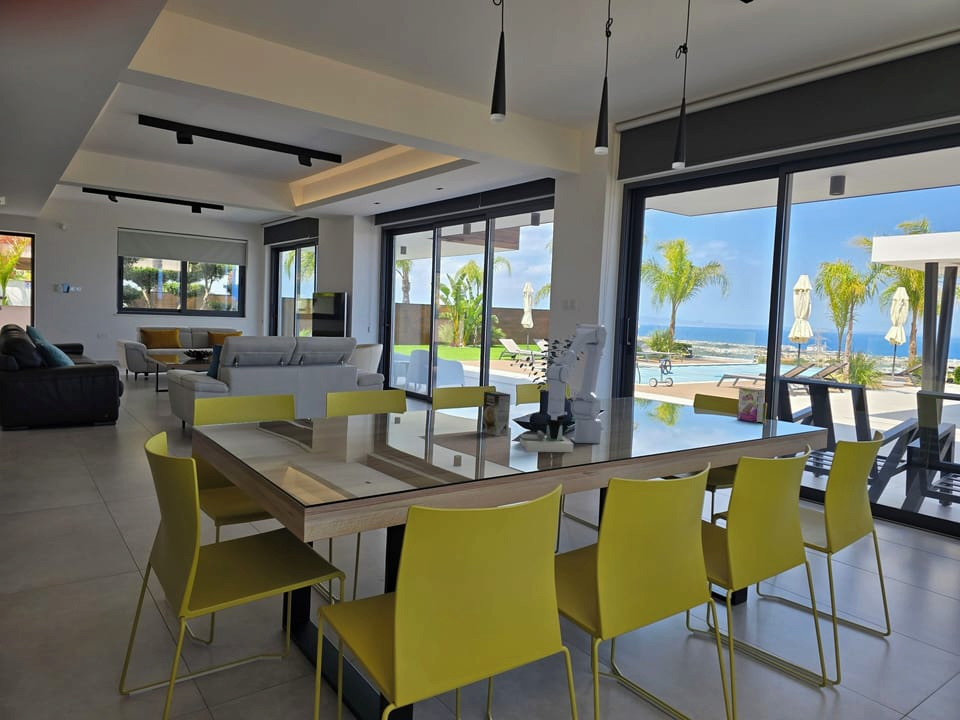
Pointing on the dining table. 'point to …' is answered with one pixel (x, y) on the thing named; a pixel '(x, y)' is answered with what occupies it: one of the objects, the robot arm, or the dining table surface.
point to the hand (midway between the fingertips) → (554, 437)
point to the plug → (558, 434)
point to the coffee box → (496, 413)
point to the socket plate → (548, 445)
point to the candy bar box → (751, 404)
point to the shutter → (533, 437)
